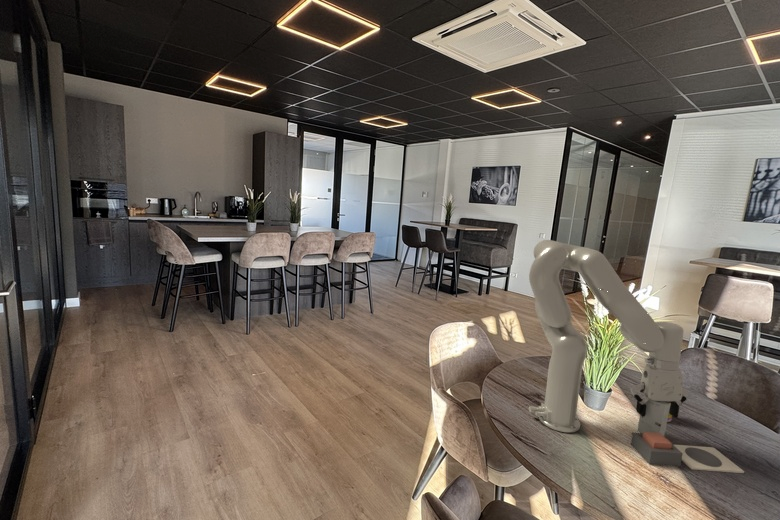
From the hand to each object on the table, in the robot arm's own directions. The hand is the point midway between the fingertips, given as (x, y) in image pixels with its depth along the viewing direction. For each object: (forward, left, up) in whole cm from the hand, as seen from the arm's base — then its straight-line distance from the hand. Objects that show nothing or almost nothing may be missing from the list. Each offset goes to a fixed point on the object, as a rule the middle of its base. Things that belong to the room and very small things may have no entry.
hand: (656, 414), depth 112 cm
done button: (-6, -10, -5) cm, 13 cm away
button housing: (-6, -10, -7) cm, 14 cm away
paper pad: (+7, -10, -7) cm, 14 cm away
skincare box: (-1, 0, -7) cm, 7 cm away
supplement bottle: (+9, +11, -7) cm, 16 cm away
